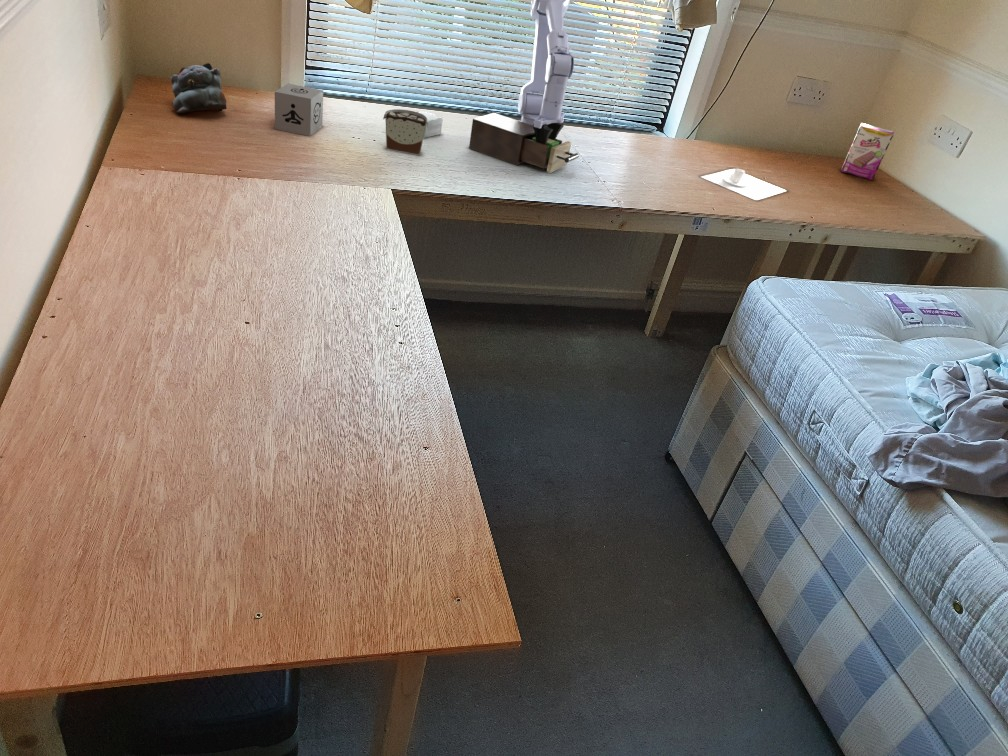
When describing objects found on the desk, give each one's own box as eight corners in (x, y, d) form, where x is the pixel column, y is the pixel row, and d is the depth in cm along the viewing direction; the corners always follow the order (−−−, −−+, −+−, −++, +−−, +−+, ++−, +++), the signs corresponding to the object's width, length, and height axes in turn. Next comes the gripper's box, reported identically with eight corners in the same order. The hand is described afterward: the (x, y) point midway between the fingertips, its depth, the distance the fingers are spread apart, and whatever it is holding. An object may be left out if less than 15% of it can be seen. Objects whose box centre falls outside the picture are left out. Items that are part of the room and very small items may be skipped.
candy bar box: (840, 172, 266) (860, 125, 257) (841, 168, 270) (860, 122, 261) (873, 181, 263) (894, 133, 254) (873, 177, 267) (894, 130, 258)
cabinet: (536, 157, 225) (542, 128, 220) (517, 165, 216) (522, 135, 212) (489, 141, 231) (493, 112, 226) (468, 148, 222) (472, 118, 217)
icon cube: (288, 119, 217) (288, 83, 212) (322, 126, 217) (323, 90, 212) (274, 128, 209) (274, 91, 204) (310, 136, 209) (311, 98, 203)
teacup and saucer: (732, 176, 241) (736, 163, 239) (753, 185, 237) (758, 172, 234) (717, 180, 235) (721, 167, 233) (739, 189, 231) (744, 176, 229)
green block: (536, 149, 220) (539, 134, 218) (556, 155, 218) (559, 141, 215) (529, 151, 217) (532, 137, 214) (549, 158, 214) (552, 144, 212)
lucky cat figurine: (164, 114, 204) (155, 59, 202) (186, 121, 216) (178, 70, 214) (217, 107, 203) (209, 52, 201) (237, 114, 215) (228, 63, 212)
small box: (421, 126, 232) (423, 109, 229) (441, 134, 229) (443, 117, 226) (404, 130, 226) (406, 113, 224) (424, 138, 223) (426, 120, 220)
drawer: (578, 169, 219) (583, 146, 216) (562, 177, 212) (567, 153, 208) (520, 149, 226) (524, 126, 222) (503, 156, 218) (507, 132, 214)
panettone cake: (428, 149, 215) (432, 114, 210) (425, 156, 210) (428, 120, 205) (385, 141, 215) (388, 105, 210) (381, 148, 210) (383, 111, 204)
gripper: (554, 108, 202) (544, 158, 210) (577, 100, 213) (567, 148, 221) (531, 100, 205) (522, 150, 212) (555, 93, 216) (546, 141, 223)
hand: (543, 149), depth 216 cm, fingers closed on green block, 4 cm apart
